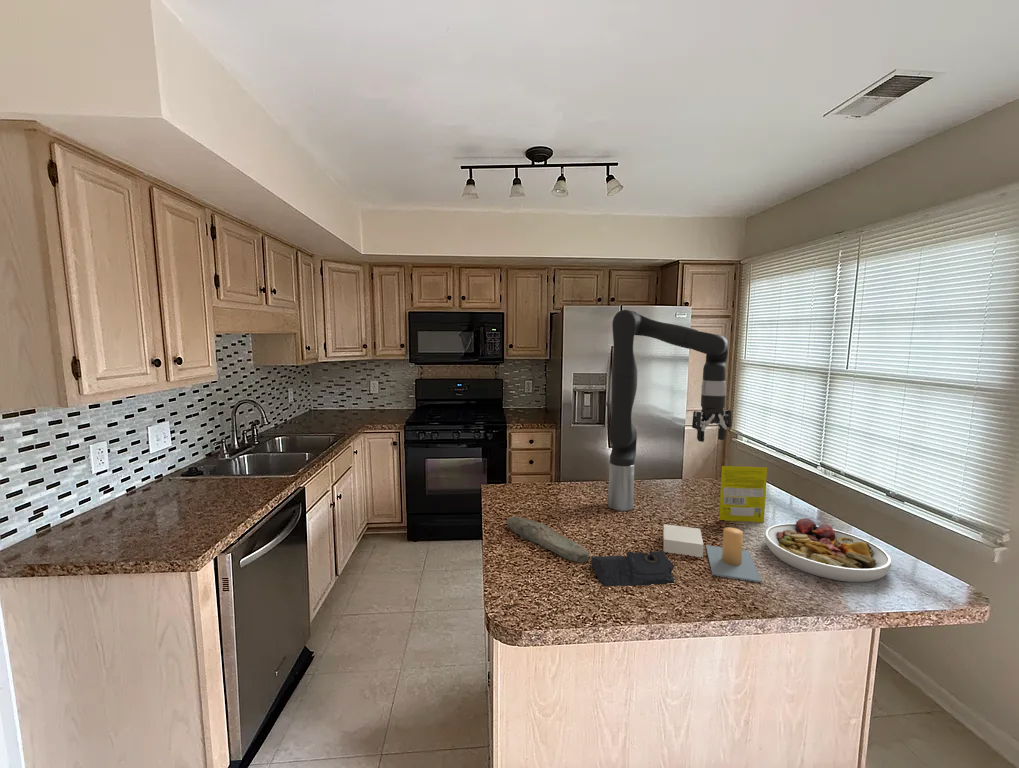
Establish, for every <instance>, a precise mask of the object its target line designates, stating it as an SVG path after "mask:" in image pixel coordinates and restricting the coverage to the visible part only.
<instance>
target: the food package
mask: <svg viewBox="0 0 1019 768" xmlns="http://www.w3.org/2000/svg"><path fill="white" fill-rule="evenodd" d="M720 473H721V474H720V476H721V477H720V493H719V495H720V497H719V515H718V521H720V520H725V521H724V522H726V521H727V522H744V521H745V522H748V523H764V522H765V514H766V513H765V511H766V510H765V509H766V495H767V493H766V492H767V477H768V467H767V466H766V467H762V466H735V465H734V466H732V465H729V466H728V465H722V466H721V472H720Z"/></svg>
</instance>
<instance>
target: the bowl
mask: <svg viewBox="0 0 1019 768" xmlns="http://www.w3.org/2000/svg"><path fill="white" fill-rule="evenodd" d="M764 540H765V544H766V546H767V547H768V549H769V550H770V551H771V553H773V555H774V556H776V557H777V558H778V559H779V560H781V561H783V562H784V563H786V564H787V565H789V566H791V567H793V568H795V569H798V570H800V571H802V572H805V573H808V574H809V575H810V574H811V575H814V576H817V577H820V578H825V579H829V580H835V581H841V582H848V583H850V582H851V583H867V582H873V581H877V580H879V579H881V578H883V577H884V576H886V575H887V574H888V573H889V572H890V570H891V566H892V558H891V556H890V554H888V553H887V552H886V551H885V550H884V549H883V548H882V547H880V546H878V545H877V544H874V543H873V542H871V541H868V540H867V539H864V538H863V537H859V536H857V535H854V534H852V533H848V532H846V531H842V530H838V529H833V527H832V526H831V525H829V524H825V523H824V524H821V525H817V523H816V522H815V521H814V520H812V519H811V518H800V519H798V520H797V521H796V523H780V524H779V523H778V524H774V525H771V526H770V527H768V528H766V530H765V534H764Z"/></svg>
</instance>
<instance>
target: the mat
mask: <svg viewBox="0 0 1019 768" xmlns="http://www.w3.org/2000/svg"><path fill="white" fill-rule="evenodd" d="M722 548H723V546H722V547H721V546H716V545H708V544H705V549H707V550H706V554H707V559H708V558H709V559H708V563H709V567H711V568H710V570H711V571H712V572H711V571H710V572H711V576H713V575H716V576H715V577H719V576H720V578H726V577H727V579H732V578H734V580H738V579H740V580H739V581H745V580H746V581H745V582H751V581H753V582H752V583H757V582H760V583H759V584H763V580H762V578H761V576H760V574H759V571H758V569H757V567H756V566H757V565H756V563H755V562H754V559H753V557H752V554H751V552H750V550H744V549H742V559H741V565H737V566H735V565H729V564H727V563H725V562H723V561H722ZM747 580H748V581H747Z"/></svg>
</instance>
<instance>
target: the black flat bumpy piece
mask: <svg viewBox="0 0 1019 768" xmlns="http://www.w3.org/2000/svg"><path fill="white" fill-rule="evenodd" d="M590 563H591V565H592V566H591V567H592V568H593V570H594V573H595V575H596V576H597V579H598V581H599V582H600V583H601V584H602V585H603V586H604V587H628V586H629V587H638V586H637V585H643V586H652V585H651V584H667V583H675V584H676V581H675V582H674V580H675V579H676V578H675V577H674V576H673V575H672V572H673V570H674V568H675V566H674V564H673V562H672V561H671V560H670V559H669V558H668V556H667V554H666V552H664V550H658V551H651V550H649V553H644V552H642V551H638V552H634V551H628V552H627V553H626V556H625V555H618V554H617V555H606V556H603V555H596V556H595V555H594V556H592V557H591V559H590ZM673 577H674V578H675V579H674V578H673Z"/></svg>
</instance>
